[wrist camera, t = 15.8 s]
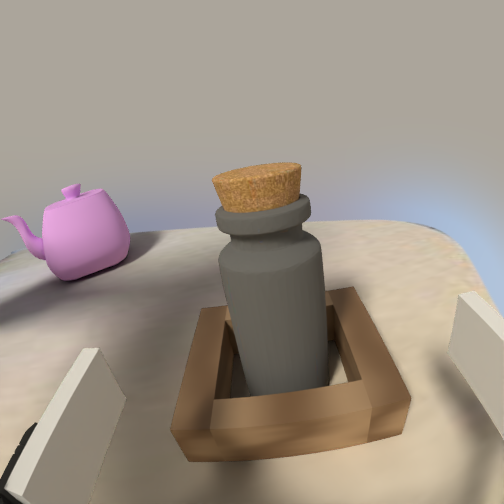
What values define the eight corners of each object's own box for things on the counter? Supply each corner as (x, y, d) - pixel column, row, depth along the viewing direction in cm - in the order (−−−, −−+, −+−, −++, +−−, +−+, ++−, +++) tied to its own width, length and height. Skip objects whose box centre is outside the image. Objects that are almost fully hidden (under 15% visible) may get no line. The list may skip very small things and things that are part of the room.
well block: (188, 461, 16) (170, 429, 15) (210, 340, 29) (201, 308, 27) (401, 433, 16) (411, 397, 14) (353, 320, 28) (353, 286, 26)
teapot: (123, 237, 68) (106, 172, 63) (143, 262, 51) (120, 172, 46) (32, 270, 58) (11, 205, 53) (20, 308, 41) (-12, 219, 36)
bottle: (260, 424, 19) (208, 188, 13) (240, 370, 24) (196, 175, 19) (342, 395, 20) (332, 164, 14) (310, 349, 25) (288, 158, 20)
